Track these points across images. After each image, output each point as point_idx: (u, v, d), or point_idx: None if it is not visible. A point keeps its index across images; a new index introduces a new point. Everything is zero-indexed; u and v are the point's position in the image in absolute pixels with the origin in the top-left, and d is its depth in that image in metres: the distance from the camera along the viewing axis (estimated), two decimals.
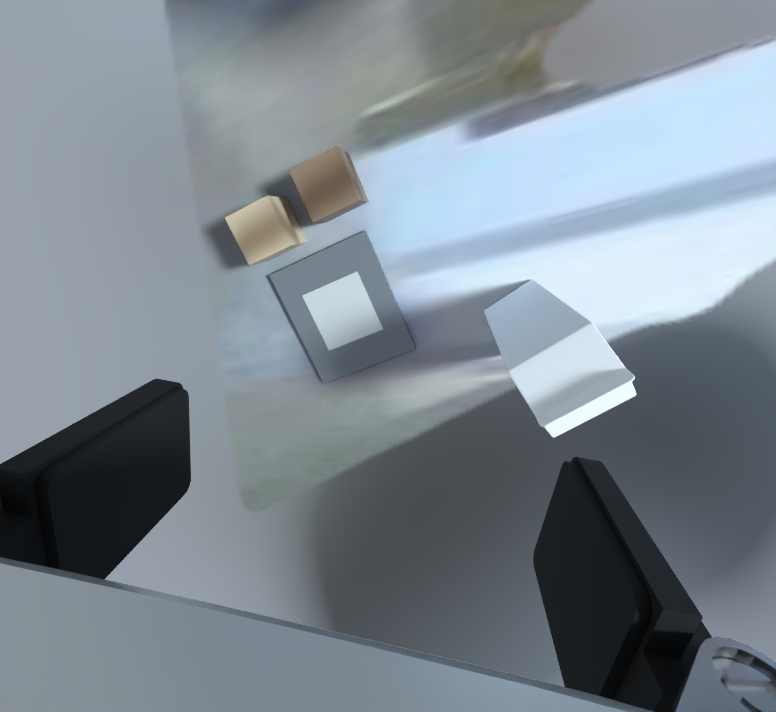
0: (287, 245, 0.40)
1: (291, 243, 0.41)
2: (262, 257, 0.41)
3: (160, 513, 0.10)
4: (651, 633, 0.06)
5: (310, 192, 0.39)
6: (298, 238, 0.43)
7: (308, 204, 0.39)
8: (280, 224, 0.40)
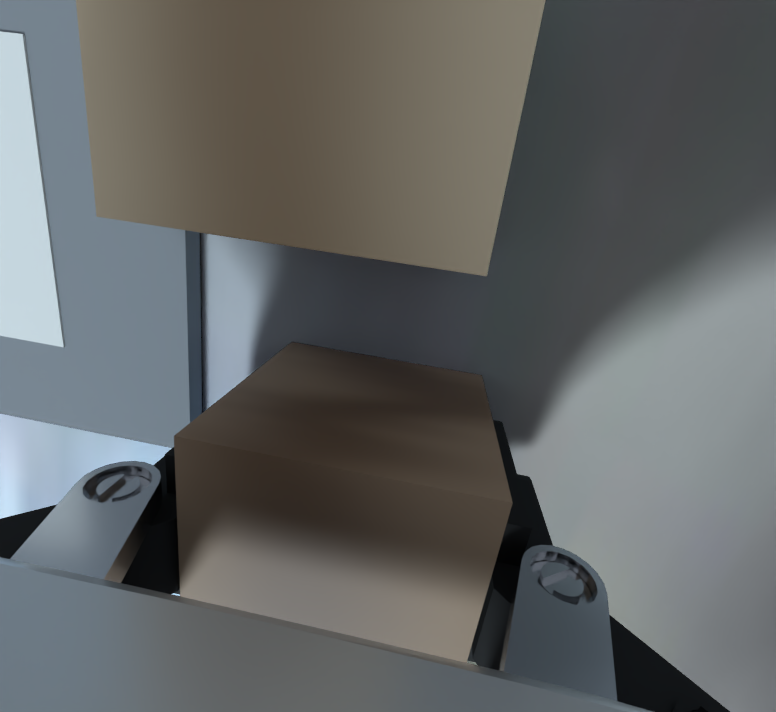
0: (102, 188, 0.05)
1: None
2: None
3: None
4: None
5: (330, 526, 0.06)
6: None
7: (278, 477, 0.06)
8: (257, 235, 0.05)
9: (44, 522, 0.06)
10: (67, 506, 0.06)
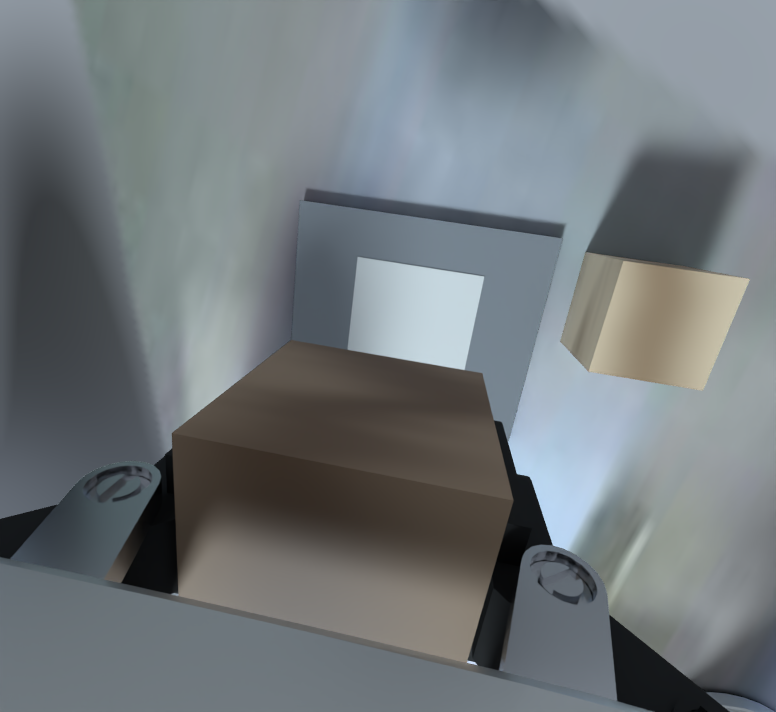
0: (593, 364, 0.19)
1: None
2: (613, 301, 0.18)
3: None
4: None
5: (330, 524, 0.06)
6: None
7: (277, 475, 0.06)
8: (637, 378, 0.19)
9: (44, 522, 0.06)
10: (67, 506, 0.06)
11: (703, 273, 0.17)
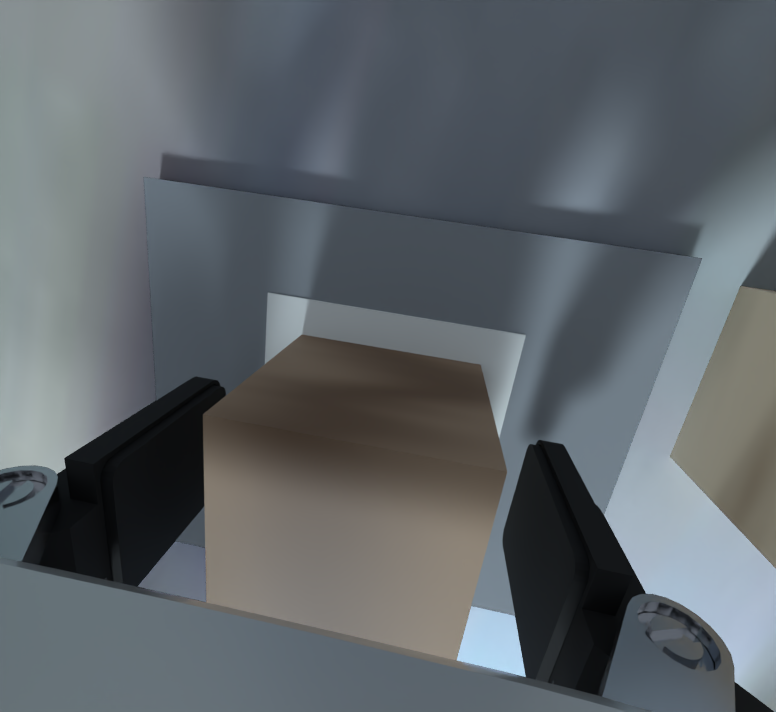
0: None
1: None
2: None
3: (200, 505, 0.10)
4: (588, 592, 0.06)
5: (344, 495, 0.07)
6: None
7: (296, 451, 0.07)
8: None
9: None
10: None
11: None
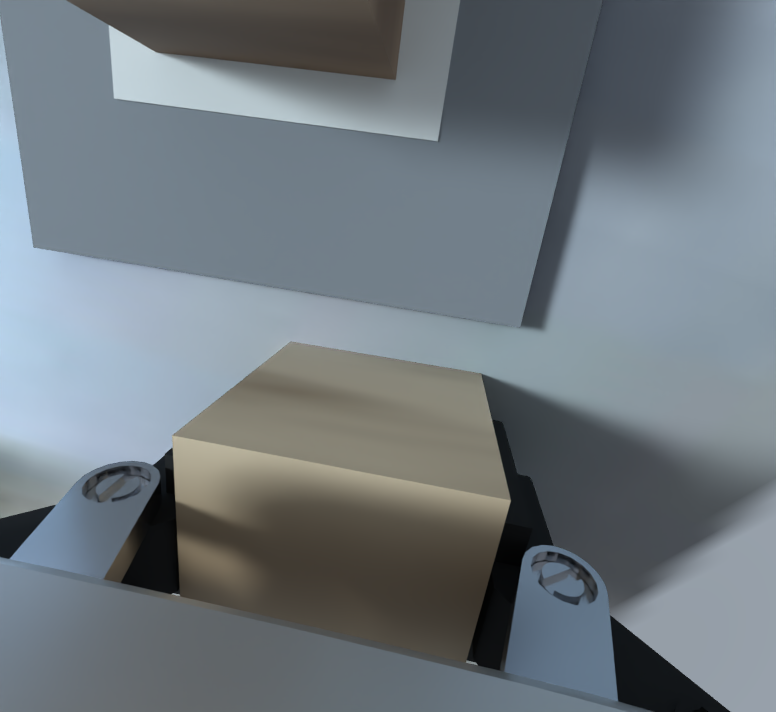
0: (194, 446, 0.06)
1: None
2: (389, 485, 0.06)
3: None
4: None
5: None
6: None
7: None
8: (182, 547, 0.07)
9: (43, 522, 0.06)
10: (66, 506, 0.06)
11: (463, 658, 0.07)
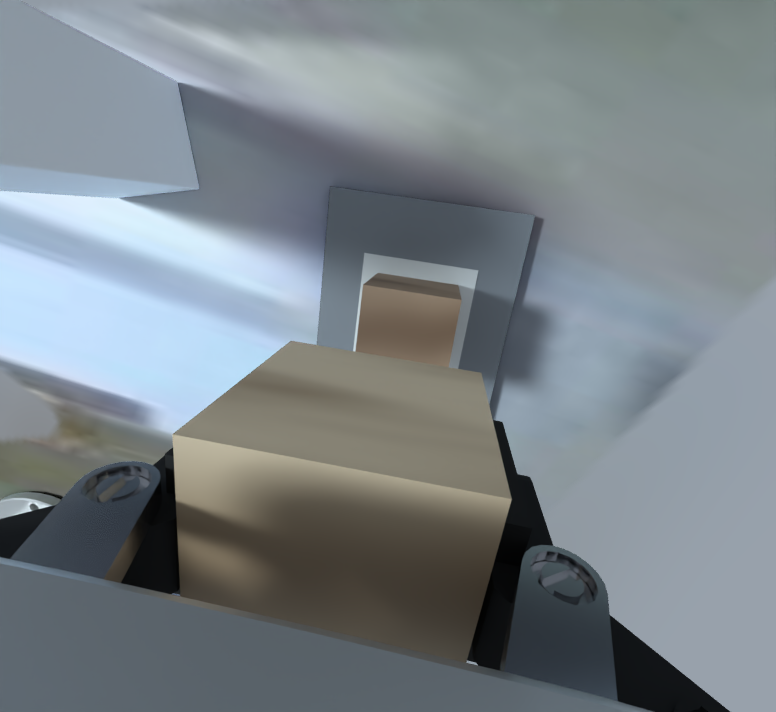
0: (194, 445, 0.06)
1: None
2: (390, 483, 0.06)
3: None
4: None
5: (432, 344, 0.21)
6: None
7: (448, 330, 0.21)
8: (183, 546, 0.07)
9: (44, 522, 0.06)
10: (67, 506, 0.06)
11: (464, 657, 0.07)
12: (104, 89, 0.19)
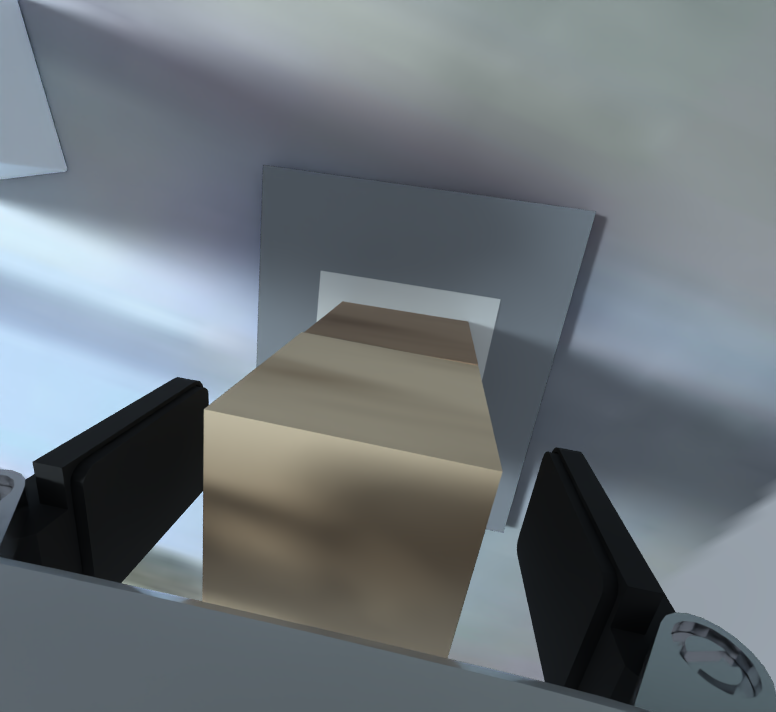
0: (223, 420, 0.07)
1: None
2: (396, 456, 0.07)
3: (181, 508, 0.10)
4: (617, 610, 0.06)
5: None
6: None
7: None
8: (207, 512, 0.08)
9: None
10: None
11: (456, 616, 0.08)
12: None
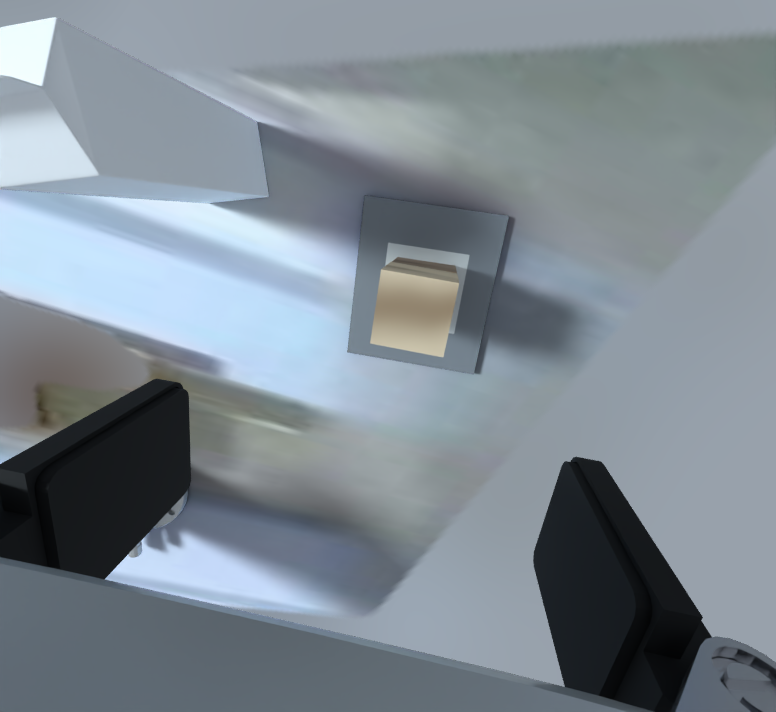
0: (386, 272, 0.26)
1: None
2: (432, 280, 0.26)
3: (160, 513, 0.10)
4: (651, 633, 0.06)
5: None
6: None
7: None
8: (377, 302, 0.27)
9: None
10: None
11: (448, 331, 0.27)
12: (223, 134, 0.29)
